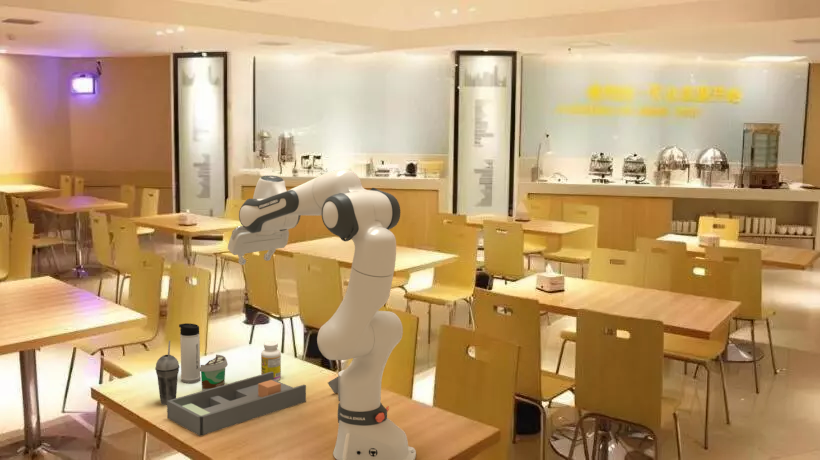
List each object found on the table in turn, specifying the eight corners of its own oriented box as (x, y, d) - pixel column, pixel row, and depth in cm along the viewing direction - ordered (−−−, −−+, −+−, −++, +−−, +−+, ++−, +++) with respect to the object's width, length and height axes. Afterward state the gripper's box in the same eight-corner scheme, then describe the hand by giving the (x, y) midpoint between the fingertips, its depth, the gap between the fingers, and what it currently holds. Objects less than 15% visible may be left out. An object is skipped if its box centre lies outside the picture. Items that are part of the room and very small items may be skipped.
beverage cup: (151, 404, 241) (149, 342, 238) (168, 396, 247) (166, 337, 244) (168, 408, 238) (166, 346, 235) (185, 401, 244) (183, 340, 241)
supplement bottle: (260, 376, 268) (260, 341, 266) (279, 375, 270) (279, 340, 268) (262, 383, 262) (262, 346, 260) (281, 381, 264) (281, 345, 262)
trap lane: (271, 387, 258) (271, 371, 257) (305, 401, 246) (305, 385, 245) (167, 418, 230) (167, 400, 229) (200, 436, 218) (199, 417, 217)
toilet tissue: (330, 391, 255) (330, 367, 254) (369, 394, 253) (369, 369, 252) (323, 401, 246) (323, 376, 245) (363, 405, 244) (364, 379, 243)
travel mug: (179, 378, 264) (177, 322, 261) (198, 376, 267) (197, 320, 264) (181, 384, 259) (180, 327, 256) (201, 382, 261) (200, 325, 258)
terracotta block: (271, 391, 246) (271, 379, 245) (280, 395, 242) (280, 383, 242) (258, 395, 242) (258, 383, 241) (267, 399, 239) (267, 387, 238)
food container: (217, 396, 249) (217, 366, 247) (200, 394, 250) (199, 365, 248) (234, 383, 261) (233, 355, 259) (217, 382, 262) (216, 354, 260)
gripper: (238, 231, 229) (231, 271, 235) (294, 224, 243) (285, 262, 249) (228, 222, 233) (220, 261, 239) (283, 215, 247) (275, 252, 253)
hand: (254, 261), depth 244 cm, fingers open, 8 cm apart
